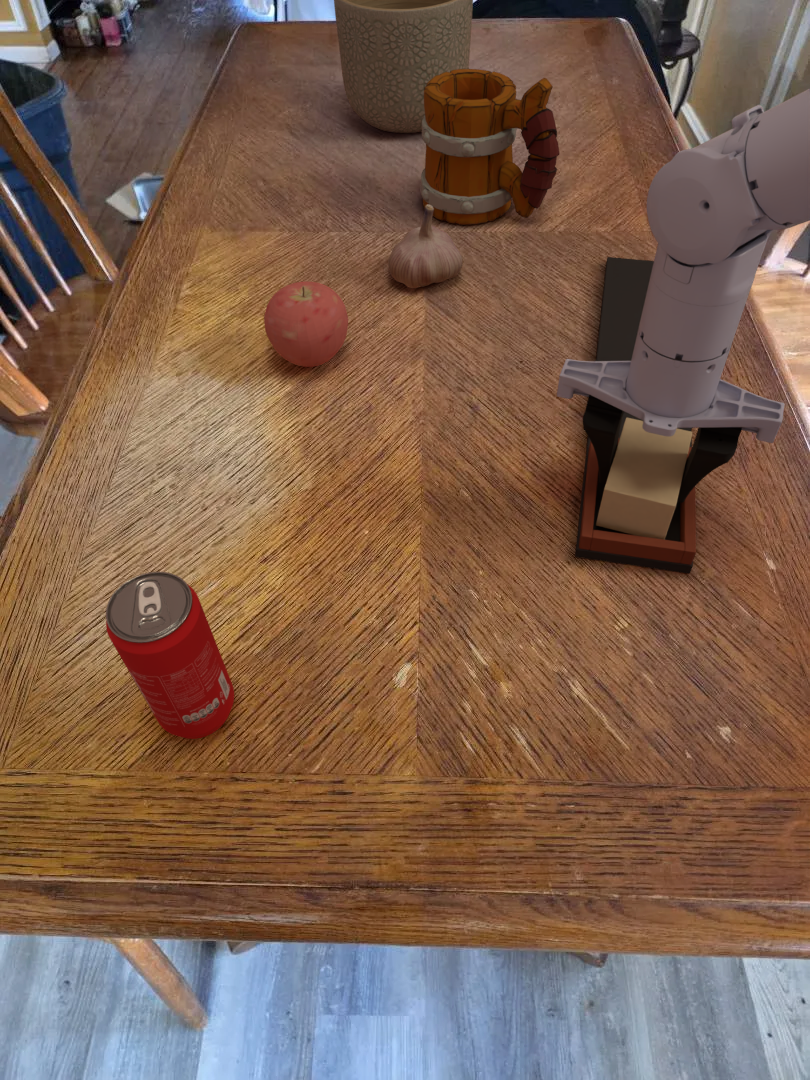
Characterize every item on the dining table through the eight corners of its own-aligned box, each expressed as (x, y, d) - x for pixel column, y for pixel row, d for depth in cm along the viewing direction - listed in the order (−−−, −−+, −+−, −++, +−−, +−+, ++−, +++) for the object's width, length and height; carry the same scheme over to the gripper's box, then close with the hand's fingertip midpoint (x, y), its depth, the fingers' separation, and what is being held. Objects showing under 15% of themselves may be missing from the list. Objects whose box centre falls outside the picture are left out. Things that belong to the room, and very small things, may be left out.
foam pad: (680, 469, 64) (692, 431, 61) (663, 543, 59) (675, 506, 56) (617, 454, 65) (626, 417, 62) (595, 525, 61) (604, 489, 57)
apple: (366, 359, 77) (360, 285, 71) (304, 394, 74) (292, 319, 68) (319, 324, 80) (309, 251, 74) (258, 356, 77) (242, 283, 71)
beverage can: (162, 754, 52) (102, 655, 43) (156, 685, 55) (99, 579, 46) (242, 733, 53) (201, 632, 43) (231, 666, 56) (191, 558, 46)
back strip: (687, 272, 84) (693, 250, 82) (689, 574, 60) (698, 553, 58) (605, 265, 86) (609, 243, 84) (574, 557, 61) (579, 536, 59)
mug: (449, 171, 100) (451, 35, 88) (570, 207, 93) (589, 65, 82) (399, 209, 94) (395, 69, 82) (524, 250, 88) (538, 105, 76)
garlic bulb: (472, 267, 86) (475, 195, 80) (444, 305, 82) (444, 231, 76) (408, 252, 88) (406, 180, 82) (377, 287, 84) (373, 214, 78)
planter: (472, 91, 114) (476, -38, 102) (465, 147, 103) (469, 10, 91) (353, 90, 116) (344, -38, 104) (334, 145, 105) (321, 9, 93)
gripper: (555, 348, 50) (535, 497, 61) (803, 398, 47) (735, 547, 57) (581, 286, 54) (558, 435, 65) (810, 328, 51) (746, 478, 61)
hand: (642, 483), depth 61 cm, fingers closed on foam pad, 5 cm apart
